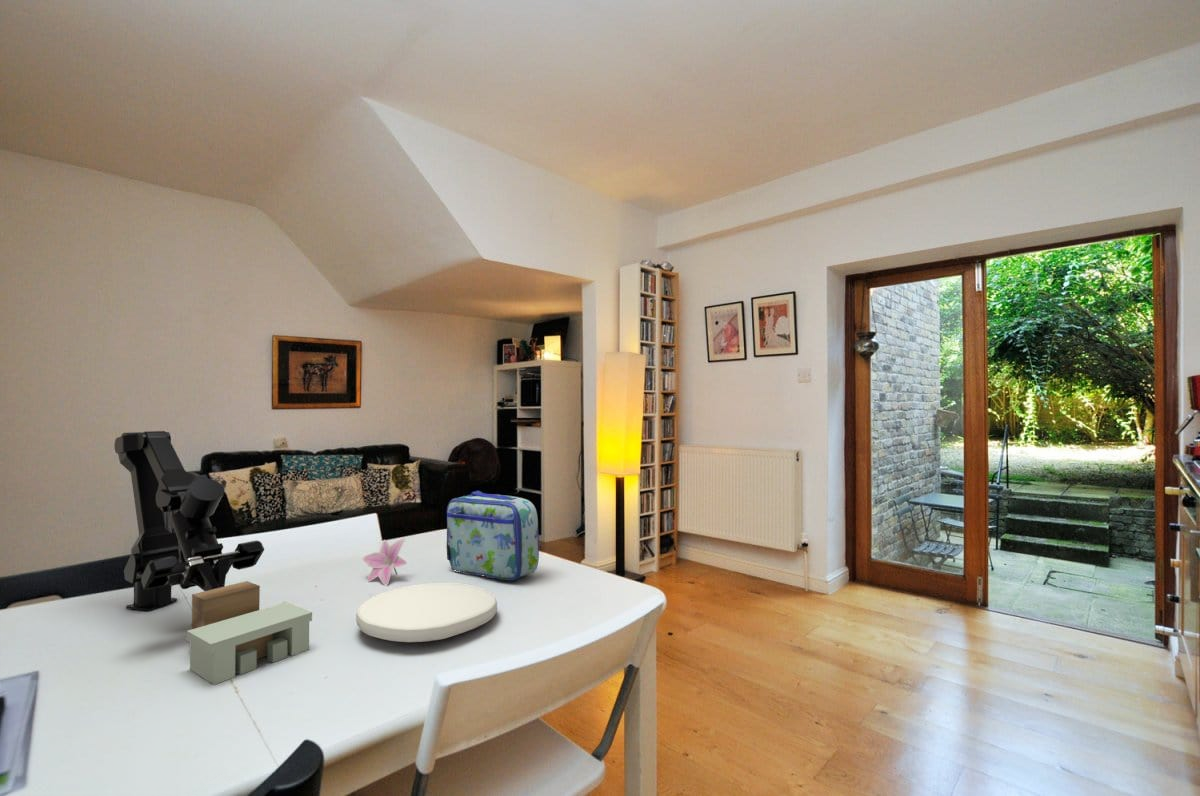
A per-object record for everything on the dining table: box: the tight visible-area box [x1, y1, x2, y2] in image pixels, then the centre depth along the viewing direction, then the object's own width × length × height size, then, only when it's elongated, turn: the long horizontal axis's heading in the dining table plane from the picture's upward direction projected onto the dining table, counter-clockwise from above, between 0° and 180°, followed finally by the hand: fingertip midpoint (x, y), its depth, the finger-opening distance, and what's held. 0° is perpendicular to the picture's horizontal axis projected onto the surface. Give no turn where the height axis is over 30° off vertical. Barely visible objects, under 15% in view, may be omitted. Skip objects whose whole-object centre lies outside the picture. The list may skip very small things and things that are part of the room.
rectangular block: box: [191, 580, 272, 659], centre depth 98 cm, size 13×9×10 cm
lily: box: [361, 537, 408, 586], centre depth 139 cm, size 12×12×10 cm
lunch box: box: [446, 490, 540, 582], centre depth 143 cm, size 26×11×21 cm, turn 58°
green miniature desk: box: [186, 601, 313, 685], centre depth 95 cm, size 9×16×6 cm, turn 146°
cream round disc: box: [355, 582, 498, 643], centre depth 111 cm, size 28×6×27 cm
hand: (219, 600), depth 102 cm, fingers closed
